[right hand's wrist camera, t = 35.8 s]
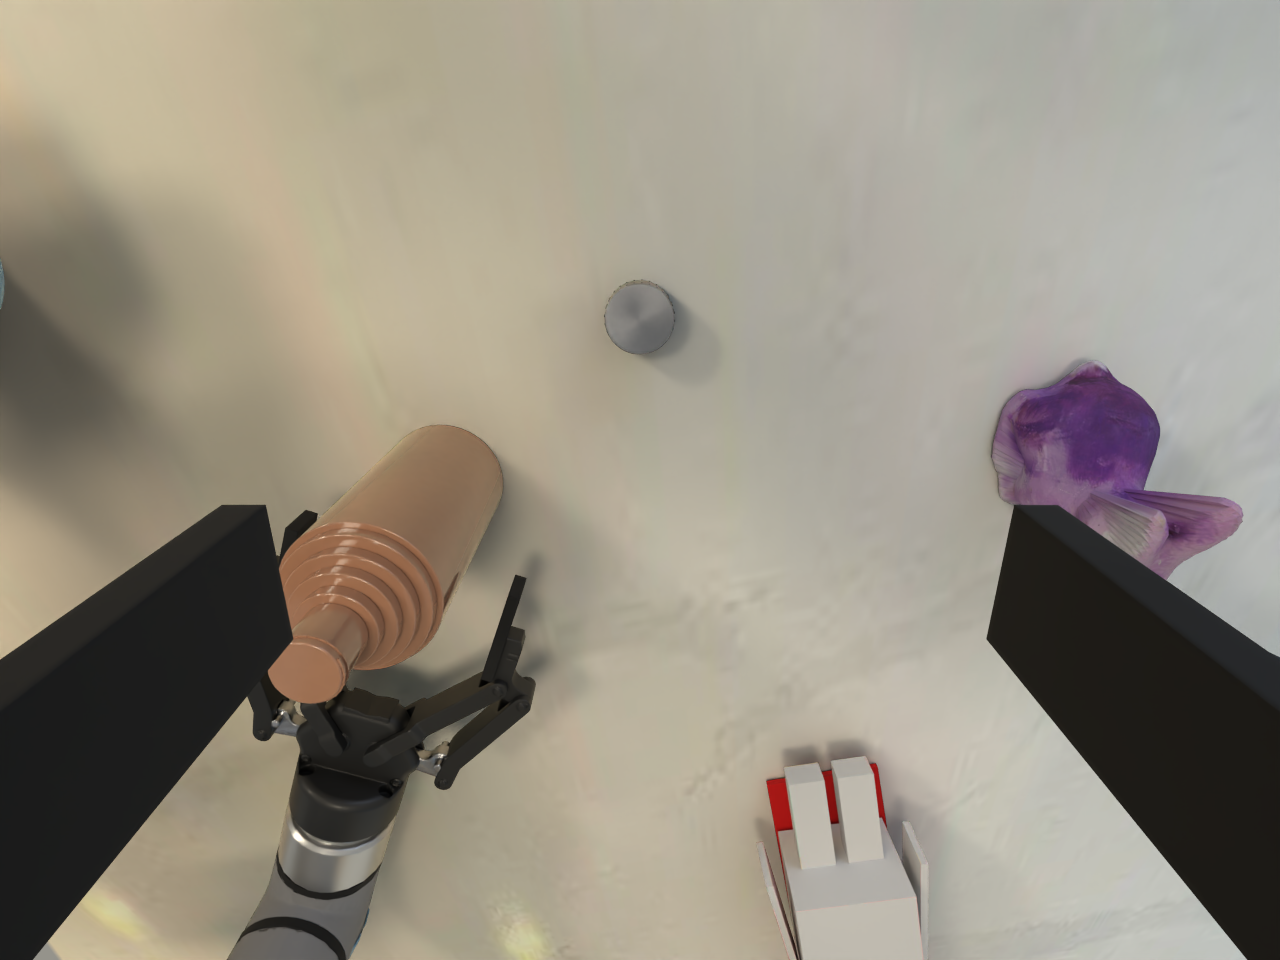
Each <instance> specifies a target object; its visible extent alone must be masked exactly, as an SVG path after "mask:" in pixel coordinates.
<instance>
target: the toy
mask: <svg viewBox="0 0 1280 960" xmlns="http://www.w3.org/2000/svg"><path fill="white" fill-rule="evenodd" d="M831 767H832V770H831V771H825V772H821V769H820V766H819V764H818V763H811V764H803V765H796V766H789V767H784V773H785V778H781V779H775V780H769V781H766V782H767V787H768V793H769V798H770V804H771V809H772V814H773V820H774V825H775V831H776V836H777V841H778V847H779V852H780V858H781V863H782V868H783V874H784V879H785V885H786V890H787V895H788V901H789V906H790V912H791V917H792V923H793V929H794V936H795V937H794V938H795V943H794V940H793V936H792V933H791V930H790V927H789V924H788V920H787V917H786V914H785V911H784V908H783V904H782V901H781V898H780V895H779V892H778V888H777V885H776V882H775V879H774V876H773V873H772V869H771V866H770V863H769V860H768V857H767V853H766V850H765V847H764V844H763V841H762V842H758V843H756V844H757V848H758V853H759V857H760V862H761V866H762V871H763V875H764V880H765V884H766V888H767V891H768V894H769V898H770V901H771V904H772V907H773V910H774V913H775V916H776V920H777V923H778V926H779V929H780V932H781V935H782V938H783V942H784V945H785V948H786V951H787V954H788V957H789V960H928V862H927V860H926V858H925V855H924V853H923V851H922V849H921V846H920V844H919V842H918V840H917V837H916V835H915V833H914V831H913V828H912V826H911V824H910V822H909V821H903V822H902V844H903V865H902V863H901V860H900V858H899V856H898V853H897V851H896V849H895V847H894V844H893V842H892V840H891V838H890V835H889V833H888V831H887V825H886V819H885V812H884V805H883V799H882V792H881V786H880V779H879V773H878V767H877V765H876V763H875V764H869V762H868V760H867V758H866V756H861V757H854V758H847V759H839V760H832V761H831ZM795 944H796V946H795Z"/></svg>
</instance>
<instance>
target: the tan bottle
mask: <svg viewBox="0 0 1280 960" xmlns="http://www.w3.org/2000/svg"><path fill="white" fill-rule="evenodd" d="M502 492H503V477H502V471H501V468H500V465H499V463H498V461H497V459H496V457H495V455H494V454H493V452H492V451H491V450H490V448H489V447H488V446H487V445H486V444H485V443H484V442H483V441H482V440H480V439H479V438H478V437H476V436H475V435H473V434H471V433H470V432H468V431H465V430H463V429H460V428H457V427H453V426H447V425H433V426H427V427H423V428H420V429H417V430H415V431H413V432H411V433H410V434H408V435H407V436H406V437H404V438H403V439H402V440H401V441H400V442H399V443H398V444H397V445H396V446H395V447H394V448H393V449H392V450H390V451H389V452H388V453H387V454H386V455H385V456H384V457H383V458H382V459H381V460H380V461H379V462H378V463H377V464H376V465H375V466H374V467H373V468H372V469H370V470H369V471H368V472H367V473H366V474H365V475H364V476H363V477H362V478H361V479H360V480H359V481H358V482H357V483H356V484H355V485H354V486H353V487H352V488H351V489H349V490H348V491H347V492H346V493H345V494H344V495H343V496H342V497H341V498H340V499H339V500H338V501H337V502H336V503H335V504H334V505H333V506H332V507H331V508H329V509H328V510H327V511H326V512H325V513H324V514H323V515H322V516H321V517H320V518H319V519H318V520H317V521H316V522H315V523H314V524H313V525H312V526H311V527H310V528H308V529H307V530H306V531H305V532H304V533H303V534H302V535H301V536H300V537H299V538H298V539H297V540H296V541H295V542H294V543H293V544H292V545H291V546H290V547H289V549H288V550H287V552H286V553H285V555H284V557H283V559H282V561H281V564H280V567H279V572H280V576H281V581H282V586H283V591H284V596H285V600H286V605H287V610H288V615H289V620H290V625H291V629H292V634H293V640H292V642H291V643H290V644H289V645H288V646H287V648H286V649H285V650H284V651H283V653H282V654H281V655H280V656H279V658H278V659H277V660H276V661H275V662H274V664H273V665H272V666H271V667H270V669H269V670H268V674H269V678H270V680H271V682H272V684H273V685H274V686H275V688H276V689H277V690H278V691H279V692H280V693H282V694H283V695H284V696H286V697H288V698H289V699H292V700H294V701H297V702H301V703H307V704H314V703H321V702H325V701H329V700H330V699H332V698H334V697H336V696H337V695H338V694H339V693H340V692H341V691H342V689H343V687H344V686H345V684H346V682H347V680H348V678H349V674H350V672H351V670H352V669H356V670H375V669H382V668H387V667H390V666H393V665H396V664H398V663H400V662H402V661H404V660H406V659H407V658H409V657H411V656H413V655H414V654H416V653H418V652H419V651H420V650H422V649H423V648H424V647H425V646H426V645H427V644H428V643H429V642H430V641H431V639H432V638H433V637H434V635H435V634H436V632H437V630H438V628H439V626H440V624H441V622H442V620H443V618H444V616H445V614H446V612H447V610H448V608H449V606H450V603H451V601H452V599H453V597H454V595H455V593H456V591H457V589H458V587H459V585H460V583H461V581H462V579H463V577H464V575H465V573H466V571H467V568H468V566H469V564H470V562H471V560H472V558H473V556H474V554H475V552H476V550H477V548H478V546H479V544H480V542H481V540H482V538H483V535H484V533H485V531H486V529H487V527H488V525H489V523H490V521H491V519H492V517H493V515H494V513H495V511H496V509H497V507H498V504H499V502H500V500H501V496H502Z"/></svg>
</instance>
